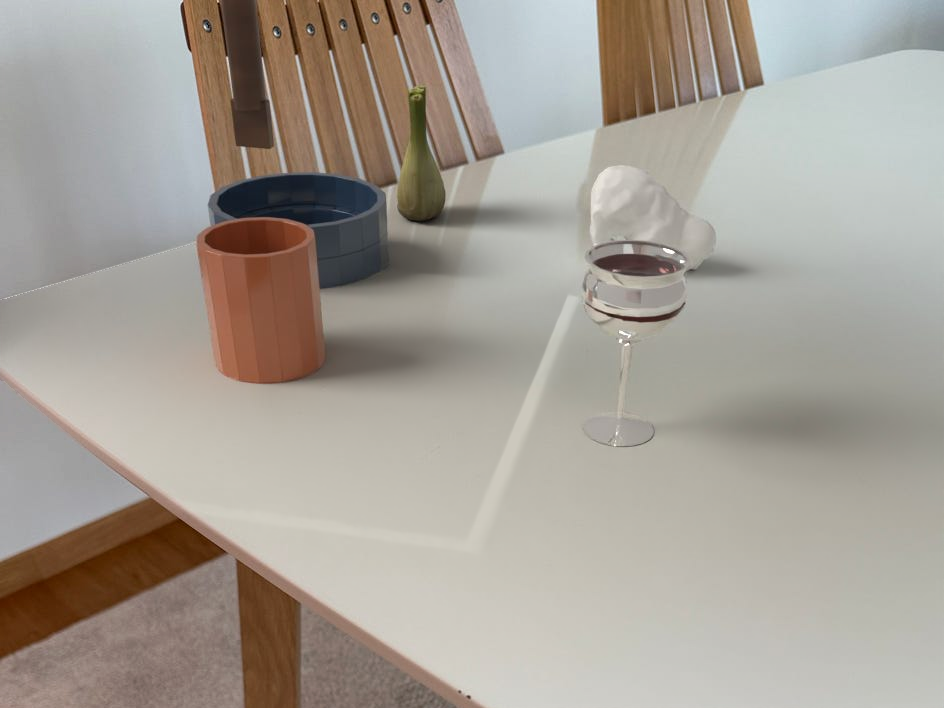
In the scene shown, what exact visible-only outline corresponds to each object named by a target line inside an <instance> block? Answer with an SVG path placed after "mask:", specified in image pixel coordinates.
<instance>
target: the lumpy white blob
mask: <svg viewBox="0 0 944 708" xmlns="http://www.w3.org/2000/svg"><path fill="white" fill-rule="evenodd" d="M589 235H590V238H591V241H592V244H593V246H595V245H598V244H600V243H603V242H609V241H615V240H616V239H614V238H615V237H622V238H623V239H624V240H644V241H652V242H657V243H663V244H666V245H669V246H672V247H675V248H677V249H679V250H681V251H683V252H684V253H686V254H687V256H688V257H689V258H690V266H689V267H688V268H687V269H686V271H685V272H687V271H689V270H693V271H696V270H697V269H698V268H699V267H700V266H701V264H702V263H703V262H704V261H705V260H707V259H708V258H710V257H711V256H712V254H713V253H714V251H715V247H716V243H717V234H716V230H715V228H714V227H713V225H712V223H710V222H709V221H708V220H706V219H704V218H701V217H700V216H696V215H692V214H690V213H689V212H688V211H687V210H686V209H685V208H683V207H681V206H680V204H679V202H678V201H677V199H676V198H675V197H673V196H672V195H671V194H670V193H669V192H668V190H667V188H666V187H665V186H664V185H662V184H661V183H660V182H658V181H657V180H656V179H655V178H654V177H653V176H652V175H651V174H650V173H649V172H647V171H645V170H643V169H641V168H638V167H635V166H632V165H626V164H619V165H612V166H610V165H609V166H608V167H606V168H605V169H604V170H602V171H601V172H600V173H599V174H598V175H597V178H596V179H595V181H594V183H593V186H592V188H591V190H590V225H589Z"/></svg>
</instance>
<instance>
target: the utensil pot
mask: <svg viewBox="0 0 944 708" xmlns="http://www.w3.org/2000/svg"><path fill="white" fill-rule="evenodd" d="M195 244H196V251H197V257H198V262H199V269H200V276H201V281H202V289H203V295H204V302H205V307H206V313H207V320H208V325H209V333H210V339H211V344H212V351H213V359H214V364H215V367H216V368H217V370H218V371H219V372H220V373H221V374H222V375H224V376H225V377H227V378H228V379H232V380H234V381H237V382H242V383H248V384H255V385H256V384H260V385H269V384H281V383H287V382H292V381H296V380H299V379H303V378H305V377H307V376H310V375H312V374H314V373H316V371H318V370H320V369H321V367H322V366H323V365H324V363H325V361H326V349H325V347H326V346H325V338H324V335H325V334H324V325H323V315H322V302H321V289H319V277H318V265H317V254H316V242H315V234H314V230H313V229H311V228H310V227H308V226H307V225H305V224H303V223H300V222H297V221H293V220H289V219H282V218H272V217H256V218H241V219H236V220H230V221H224V222H221V223H218V224H216V225H213V226H211V225H210V226H207V227H206V228H204V229H203V230H201V231H200V232H199V233H197V235H196V243H195Z"/></svg>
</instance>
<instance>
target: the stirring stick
mask: <svg viewBox="0 0 944 708" xmlns="http://www.w3.org/2000/svg"><path fill="white" fill-rule="evenodd" d="M220 3H221V11H222V12H221V13H222V19H223V27H224V36H225V44H226V51H227V53H226V54H227V60H228V68H229V76H230V84H231V85H230V86H231V92H232V98H231V99H230V100H229V102H230V111H231V117H232V126H233V134H234V142H235V146H236V147H239V148H240V147H241V148H252V149H253V148H254V149H264V150H271V149H272V148H274V147H275V142H274V141H275V140H274V132H273V121H272V113H271V112H272V111H271V102H270V99H267V96H266V86H265V75H264V67H263V58H262V48H261V39H260V29H259V19H258V9H257V0H220Z"/></svg>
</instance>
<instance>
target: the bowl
mask: <svg viewBox="0 0 944 708" xmlns="http://www.w3.org/2000/svg"><path fill="white" fill-rule="evenodd" d="M387 206H388V205H387V193H386V192H385V191H384V190H383V189H381V188H380V187H379V186H378V185H376V184H374V183H372V182H369V181H368V180H364V179H362V178H358V177H354V176H349V175H344V174H339V173H326V172H316V171H315V172H313V171H312V172H311V171H310V172H306V171H305V172H302V171H301V172H300V171H299V172H281V173H272V174H263V175H258V176H254V177H253V176H252V177H249V178H244V179H240V180H236V181H234V182H232V183H229V184H226V185H224V186H221V187H220V188H218V189H217V190H216V191H214V192H213V193H212V194H210V196H209V199H208V203H207V210H208V216H209V217H208V218H209V224H210V226H213V225H216V224H218V223H221V222H224V221H230V220H236V219H241V218H256V217H272V218H282V219H289V220H293V221H297V222H300V223H303V224H305V225H307V226H308V227H310V228H311V229H313V230H314V234H315V242H316V254H317V265H318V277H319V289H320V290H321V289H330V288H335V287H336V288H337V287H342V286H346V285H349V284H353V283H356V282H360V281H363V280H366V279H368V278H370V277H371V276H374V275H376V274H377V273H379V272H381V271H382V270H384V269H385V267H386V266H387V265H388V264H389V261H390V256H389V255H390V254H389V234H388V233H389V232H388V231H389V230H388V229H389V228H388V208H387Z"/></svg>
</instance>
